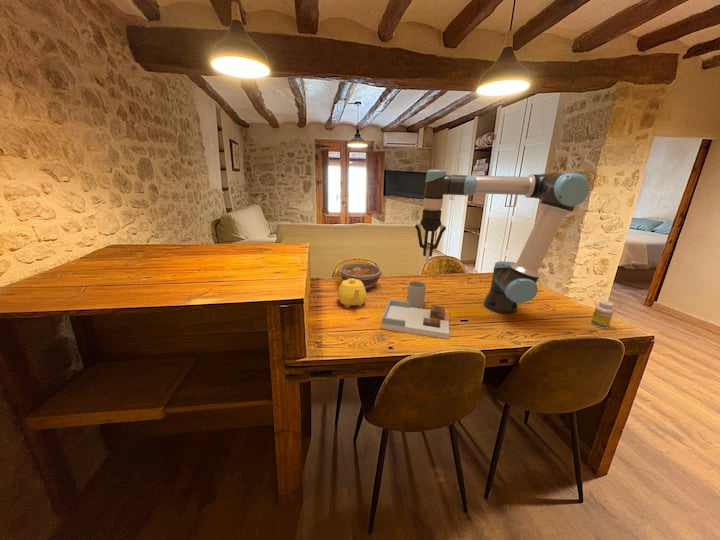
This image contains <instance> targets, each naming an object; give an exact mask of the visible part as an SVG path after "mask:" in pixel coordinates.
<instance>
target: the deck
mask: <svg viewBox="0 0 720 540" xmlns="http://www.w3.org/2000/svg"><path fill="white" fill-rule="evenodd" d="M430 312H431V309H425V308H412V307H410V302H407V301H404V300H396V299H389V301H388V303H387V306H386V308H385V311H384V312H383V315H382V317H381V329H382V330H387V331H388V330H389V331H394V332H400V333H406V334H407V333H408V334H413V335H419V336H427V337H430V338H431V337H432V338H439V339H444V340H449V337H450V313H449V312H447V311H445V317H444V320H439V319H432V318H430Z"/></svg>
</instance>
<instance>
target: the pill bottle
mask: <svg viewBox="0 0 720 540" xmlns="http://www.w3.org/2000/svg"><path fill="white" fill-rule="evenodd" d="M613 307H614V303H612V302H611V301H607V300H599V303H598V304H597V305H596V306H595V308H594V312H593V313H592V314H593V315H592V318H591V322H590V323H591V325H592V326H594V327H596V328H600V329H608V328H609V325H610V323H611V321H612V317H613V314H614V309H613Z"/></svg>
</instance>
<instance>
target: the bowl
mask: <svg viewBox="0 0 720 540" xmlns="http://www.w3.org/2000/svg"><path fill="white" fill-rule="evenodd" d="M381 273H382V270H381V268H380V267H379V266H377V265H375V264H370V263H366V262H351V263H348V264H347V263H346V264H344V265H342V266H341V267H340V268H339V274H340V277H341V279H342V281H344V280H348V279H351V278H354V279H357V280H360V281H362V283H363V285H364V287H365V290H367V289H370V288H371V287H373V286H374V285H375V284H376V283H377V282H378V281H379V279H380V276H381Z"/></svg>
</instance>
